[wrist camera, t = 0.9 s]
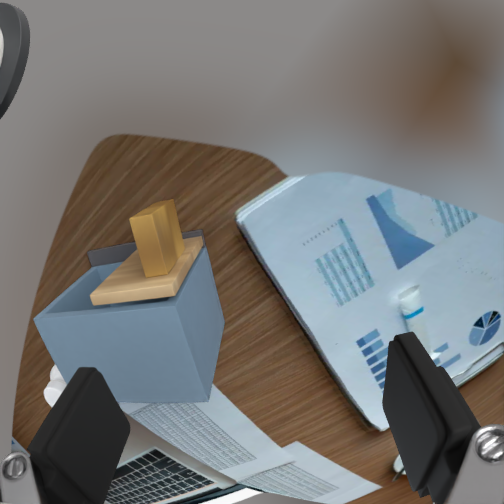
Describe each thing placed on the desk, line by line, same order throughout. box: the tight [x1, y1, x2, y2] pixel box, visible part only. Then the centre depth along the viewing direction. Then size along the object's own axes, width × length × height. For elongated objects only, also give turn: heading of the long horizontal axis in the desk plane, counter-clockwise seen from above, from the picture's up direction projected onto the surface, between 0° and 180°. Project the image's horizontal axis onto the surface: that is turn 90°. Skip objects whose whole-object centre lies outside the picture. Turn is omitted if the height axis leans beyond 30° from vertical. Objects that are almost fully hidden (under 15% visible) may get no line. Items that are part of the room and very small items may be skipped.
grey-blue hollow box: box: [33, 229, 225, 403], centre depth 25 cm, size 10×12×11 cm
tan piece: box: [90, 199, 203, 306], centre depth 23 cm, size 5×6×10 cm
